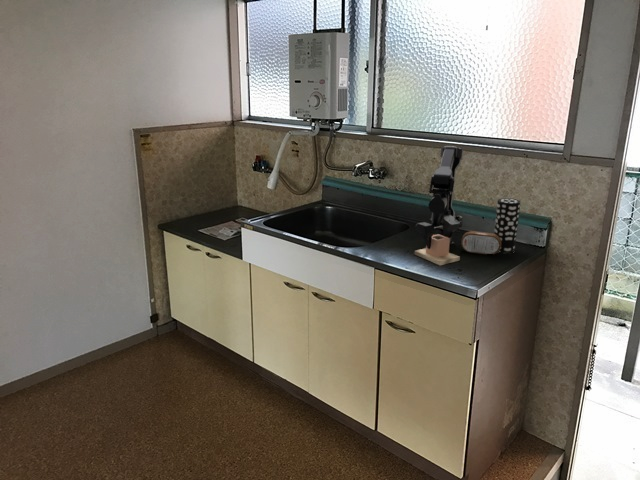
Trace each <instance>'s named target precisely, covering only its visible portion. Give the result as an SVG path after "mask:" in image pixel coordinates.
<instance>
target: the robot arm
mask: <svg viewBox="0 0 640 480" xmlns="http://www.w3.org/2000/svg"><path fill="white" fill-rule="evenodd" d="M440 159H441V162H440V165H439V168H437V169H435V171H434V172H433V175H432V176H431V179H430V185H429V189H428V190H429V191H428V192H429V193H428V194H432V198H431V199H430V201H429V202H428V209H429V212H431V218H429V221H428V222H425V221H423V222H417V223H416V224H415V226H414V227H415V228H414V231H416V232H418V233H420V234H421V236H422V239H423V241H424V243H425V247H426V246H427V248H428V249H430V248H431V240H432V236H433V235H437V234H440V235H442V236H445V237H448V238H450V242H449V246H450V245H455V242H454V241H453V234H454V232H456V231H458V230H459V228H462V227H463V216H461V215H455V214H456V212H455V211H454V208H453V206H452V205H453V198H454V189H455V182H456V173H457V169H459V167H460V166H461V163H462V160H463V159H464V149H462V148H461V147H457V146H456V145H445V146H443V147H441V149H440ZM435 230H436V231H435ZM434 231H435V233H434Z"/></svg>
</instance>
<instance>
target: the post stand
mask: <svg viewBox="0 0 640 480" xmlns="http://www.w3.org/2000/svg"><path fill="white" fill-rule="evenodd" d="M435 239H441V237H440V236H436V237H435ZM414 255H415V256H417V257H420V258H422V259H424V260H427V261H429V262H431V263H434V264H435V265H438V266H443V265H447V264H451V263H456V262H458V261H460V260H461V256H459V255H457V254H454V253H451V252H449V255H445V256H440V257H434V256H432V255H430V254H427V253H426V247H424V248H422V249H421V248H420V249H417V250H414Z"/></svg>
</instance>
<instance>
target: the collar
mask: <svg viewBox="0 0 640 480" xmlns="http://www.w3.org/2000/svg"><path fill="white" fill-rule="evenodd" d="M436 236H440V237H441V239H435V237H436ZM449 242H450V238H448V237H445V236H442V235H440V234H437V235H435V234H434V235H433V236H432V240H431V248H430V249H428V248H427V246H426V245H425V248H426V253H427V254H430V255H432V256H434V257H440V256H445V255H449V253H450V245H449Z"/></svg>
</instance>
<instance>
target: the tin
mask: <svg viewBox="0 0 640 480" xmlns="http://www.w3.org/2000/svg"><path fill="white" fill-rule="evenodd" d="M460 244H461V247H462V249H463V250H464V251H466V252H468V253H470V254H479V255H487V254H493V255H495V254H497V253H499V252H498V251H499V250H500V248H501V239H500V238H499V236H497V235H496V234H494V233H493V232H485V231H477V230H476V231H475V230H469V231H466V232H465V233H463V235H462V237H461V240H460Z"/></svg>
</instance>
